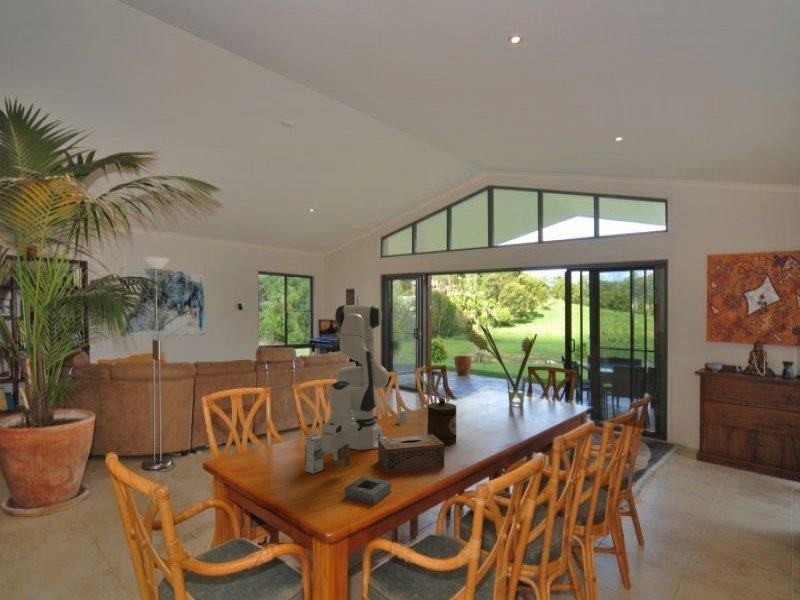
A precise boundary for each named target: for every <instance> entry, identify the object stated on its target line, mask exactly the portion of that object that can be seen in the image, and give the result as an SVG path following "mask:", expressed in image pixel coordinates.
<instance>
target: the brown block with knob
mask: <svg viewBox="0 0 800 600" xmlns="http://www.w3.org/2000/svg"><path fill="white" fill-rule="evenodd" d="M349 452H350V447H349V444H347V445H344V446H343V447H342V448H340V449H338V452H337V454H338V455H339V460H337V461H336V460H334V459H333V458H332V467H336V468H339V469H344V468H345V467H347V466H348V465H350V453H349Z"/></svg>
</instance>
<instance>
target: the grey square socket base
mask: <svg viewBox="0 0 800 600" xmlns="http://www.w3.org/2000/svg"><path fill="white" fill-rule="evenodd" d="M391 492H392V482H391V481H387V480H382V479H378V478H374V477H369V476H365V475H362V476H361V477H360V478H358V479H356V480H355V481H353V482H352V483H350V484H349V485H347V486H345V487H344V498H345V499H349V500H352V501H353V500H354V501H355V502H356V501H357V502H362V503H365V504H368V505H372V506H375V505H376V504H377V503H378V502H380V501H381V500H382V499H384V498H385V497H387V496H388V495H389V494H390V493H391Z"/></svg>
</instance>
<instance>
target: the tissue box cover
mask: <svg viewBox="0 0 800 600" xmlns="http://www.w3.org/2000/svg"><path fill="white" fill-rule="evenodd" d="M377 450H378V452H377V455H378V456H377V462H378V463H379V464H380V466H381V468H382V469H383V471H384V472H385V473H386V474H390V473H399V472H409V471H410V472H411V471H417V470H427V469H428V470H429V469H435V468H437V469H438V468H445V446H444V443H443V442H441V441H440V440H439V439H438V438H436V437H435V436H434V435H433V434H431V435H427V434H423V435H422V434H421V435H410V436H398V437H387V438H385V439H378V448H377Z"/></svg>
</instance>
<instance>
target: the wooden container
mask: <svg viewBox="0 0 800 600" xmlns="http://www.w3.org/2000/svg"><path fill="white" fill-rule="evenodd" d="M426 424H427V426H426V428H427V429H426V430H427V431H426V432H427V434H426V435H431V434H433V435H434V436H435V437H436V438H438V439H439V440H440V441H441V442H443V443H444V447H446V446H451V445H454V444H456V443H457V405H456V404H453V403H449V402H446V399H445V398H444V397H440V398H439V399H438V402H432V403H429V404H428V405H427V423H426Z"/></svg>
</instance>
